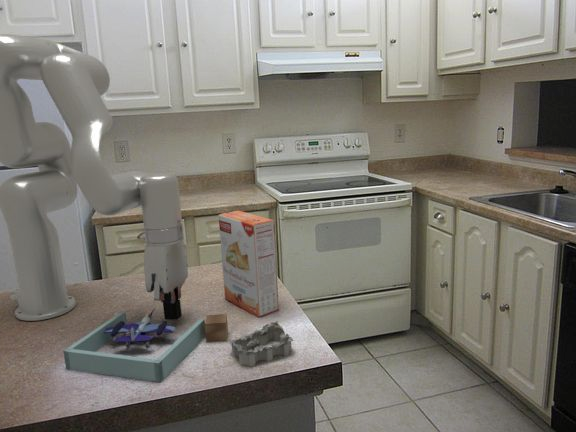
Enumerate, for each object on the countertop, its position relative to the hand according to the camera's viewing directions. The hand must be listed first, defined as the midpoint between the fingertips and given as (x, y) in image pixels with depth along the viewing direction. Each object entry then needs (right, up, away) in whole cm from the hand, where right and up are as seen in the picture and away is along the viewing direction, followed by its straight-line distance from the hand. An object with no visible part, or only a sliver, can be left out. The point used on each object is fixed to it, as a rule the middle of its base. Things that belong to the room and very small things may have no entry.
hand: (173, 318), depth 102 cm
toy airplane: (-5, -3, -6) cm, 8 cm away
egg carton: (+20, -4, -13) cm, 24 cm away
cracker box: (+16, +1, +8) cm, 18 cm away
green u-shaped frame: (-4, -4, -10) cm, 12 cm away
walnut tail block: (+10, -2, -6) cm, 12 cm away
